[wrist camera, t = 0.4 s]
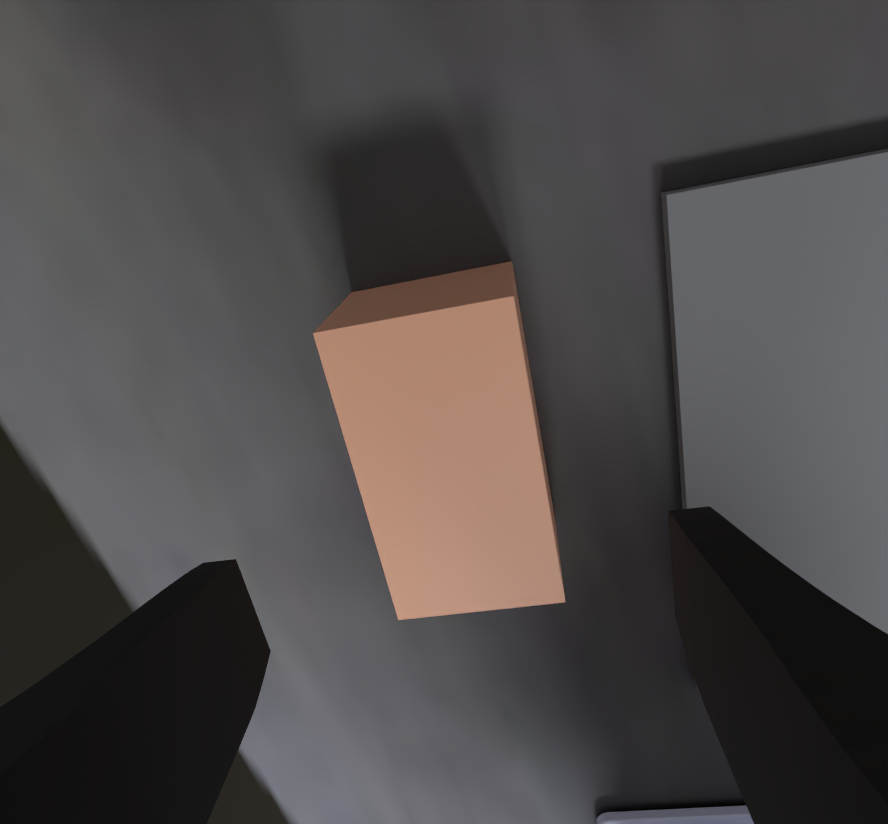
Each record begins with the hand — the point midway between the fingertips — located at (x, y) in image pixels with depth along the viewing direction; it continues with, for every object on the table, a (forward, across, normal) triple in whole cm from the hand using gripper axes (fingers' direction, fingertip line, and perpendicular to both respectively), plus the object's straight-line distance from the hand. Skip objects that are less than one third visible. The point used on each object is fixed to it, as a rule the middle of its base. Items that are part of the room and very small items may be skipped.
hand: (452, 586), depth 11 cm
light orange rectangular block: (+9, 0, 0) cm, 9 cm away
